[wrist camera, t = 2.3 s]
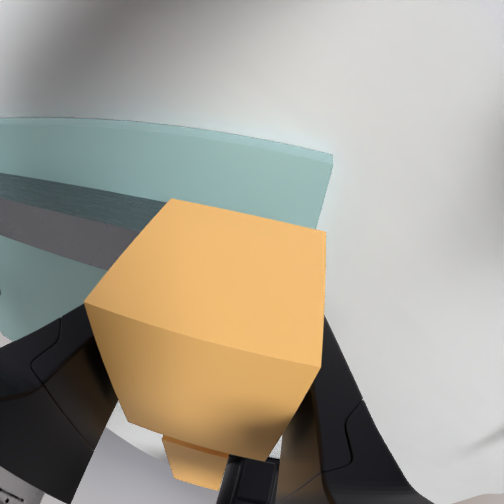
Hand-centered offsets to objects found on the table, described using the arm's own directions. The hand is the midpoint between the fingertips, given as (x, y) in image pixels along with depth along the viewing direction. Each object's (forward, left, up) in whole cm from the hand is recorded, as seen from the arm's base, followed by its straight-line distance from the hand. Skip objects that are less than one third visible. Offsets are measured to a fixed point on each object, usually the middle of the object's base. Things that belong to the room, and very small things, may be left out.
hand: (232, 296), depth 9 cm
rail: (0, +10, -4) cm, 10 cm away
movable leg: (-3, 0, -2) cm, 4 cm away
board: (-6, +10, -4) cm, 12 cm away
